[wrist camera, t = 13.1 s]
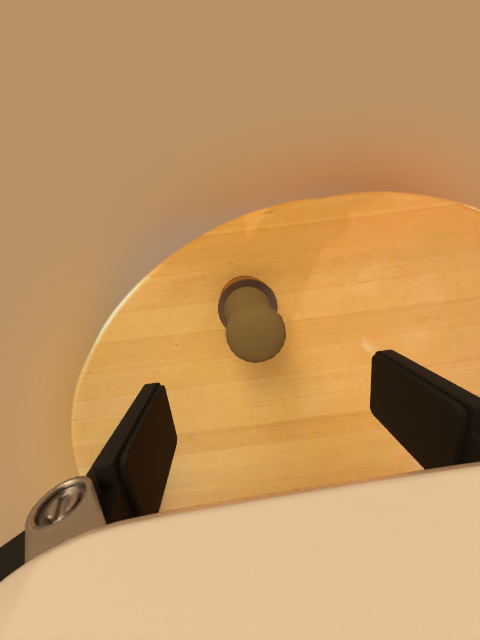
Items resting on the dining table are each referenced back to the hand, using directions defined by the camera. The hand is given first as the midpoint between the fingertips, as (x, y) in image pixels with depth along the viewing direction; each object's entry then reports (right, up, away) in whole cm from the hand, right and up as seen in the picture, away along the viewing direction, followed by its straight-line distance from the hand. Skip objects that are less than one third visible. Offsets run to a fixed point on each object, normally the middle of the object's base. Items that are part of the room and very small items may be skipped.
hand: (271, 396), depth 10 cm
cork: (0, +5, +19) cm, 19 cm away
